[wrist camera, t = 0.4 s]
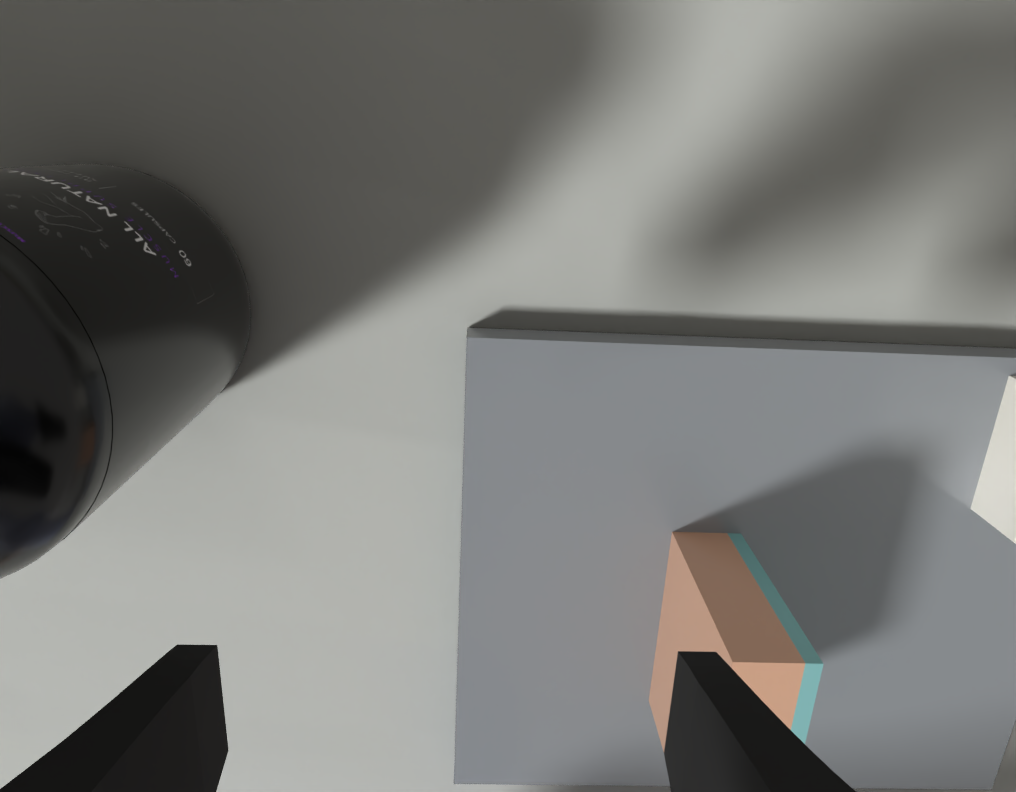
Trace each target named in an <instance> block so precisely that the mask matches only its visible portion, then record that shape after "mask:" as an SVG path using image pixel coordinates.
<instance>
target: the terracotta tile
mask: <svg viewBox="0 0 1016 792" xmlns="http://www.w3.org/2000/svg"><path fill="white" fill-rule="evenodd" d="M678 651H695V652H717V653H718V654H719V655H720V656H721V657H722V658H723V660H724V661H725V662H726V663H727V664H728V665H729V666H730V667H731V668H732V669H733V670H734V671H735V672H736V673H737V674H738V675H739V677H740V678H741V679H742V680H743V681H744V682H745V683H746V684H747V685H748V686H749V687H750V688H751V689H752V690H753V691H754V693H755V694H756V695H757V696H758V697H759V698H760V699H761V700H762V701H763V702H764V703H765V704H766V705H767V706H768V707H769V708H770V709H771V710H772V712H773V713H774V714H775V715H776V716H777V717H778V718H779V719H780V720H781V721H782V722H783V723H784V724H785V725H786V726H787V727H788V728H789V729H790V730H791V731H792V732H793V733H794V734H795V735H796V736H797V737H798V738H799V739H800V740H801V741H802V742H803V743H804V744H805V742H806V738H807V733H808V729H809V725H810V720H811V716H812V712H813V707H814V703H815V699H816V694H817V690H818V686H819V682H820V677H821V673H822V669H823V662H822V660H821V659H820V657H819V656H818V654H817V653H816V651H815V649H814V648H813V646H812V645H811V643H810V642H809V640H808V638H807V637H806V635H805V634H804V632H803V631H802V629H801V627H800V626H799V624H798V623H797V621H796V619H795V618H794V616H793V615H792V613H791V612H790V610H789V608H788V607H787V605H786V604H785V602H784V601H783V599H782V597H781V596H780V594H779V593H778V591H777V590H776V588H775V586H774V585H773V583H772V582H771V580H770V578H769V577H768V575H767V574H766V572H765V571H764V569H763V567H762V566H761V564H760V563H759V561H758V560H757V558H756V556H755V555H754V553H753V552H752V550H751V548H750V547H749V545H748V544H747V542H746V541H745V539H744V537H743V536H742V534H739V533H701V532H672V535H671V542H670V550H669V557H668V564H667V571H666V579H665V586H664V593H663V601H662V608H661V615H660V622H659V630H658V637H657V644H656V651H655V659H654V666H653V673H652V680H651V688H650V695H649V703H650V707H651V710H652V714H653V717H654V721H655V724H656V727H657V731H658V734H659V738H660V741H661V745H662V748H663V752H664V749H665V742H666V734H667V727H668V720H669V713H670V705H671V698H672V691H673V684H674V677H675V669H676V662H677V655H678Z"/></svg>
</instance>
